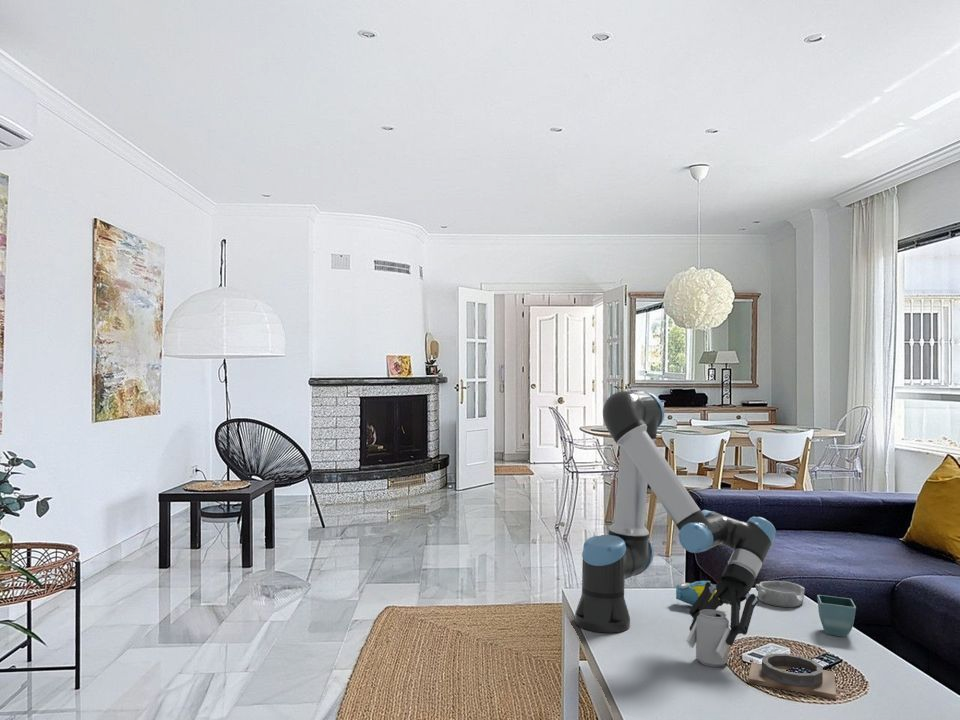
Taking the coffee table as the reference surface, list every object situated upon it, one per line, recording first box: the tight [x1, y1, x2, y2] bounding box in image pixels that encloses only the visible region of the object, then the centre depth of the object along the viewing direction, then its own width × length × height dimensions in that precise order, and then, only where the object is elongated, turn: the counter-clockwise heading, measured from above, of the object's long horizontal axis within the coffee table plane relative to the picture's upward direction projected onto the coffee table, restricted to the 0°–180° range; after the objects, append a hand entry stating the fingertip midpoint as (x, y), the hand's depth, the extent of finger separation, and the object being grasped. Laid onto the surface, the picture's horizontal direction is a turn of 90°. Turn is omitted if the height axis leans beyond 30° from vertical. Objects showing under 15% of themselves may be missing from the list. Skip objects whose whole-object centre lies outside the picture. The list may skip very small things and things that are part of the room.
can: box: [695, 609, 730, 668], centre depth 180 cm, size 8×8×12 cm
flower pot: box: [816, 594, 857, 638], centre depth 203 cm, size 9×9×9 cm
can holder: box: [747, 653, 837, 700], centre depth 171 cm, size 18×14×4 cm
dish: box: [755, 580, 806, 608], centre depth 232 cm, size 14×14×5 cm
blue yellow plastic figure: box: [675, 580, 729, 622], centre depth 223 cm, size 28×9×15 cm
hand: (704, 649), depth 178 cm, fingers closed on can, 7 cm apart
